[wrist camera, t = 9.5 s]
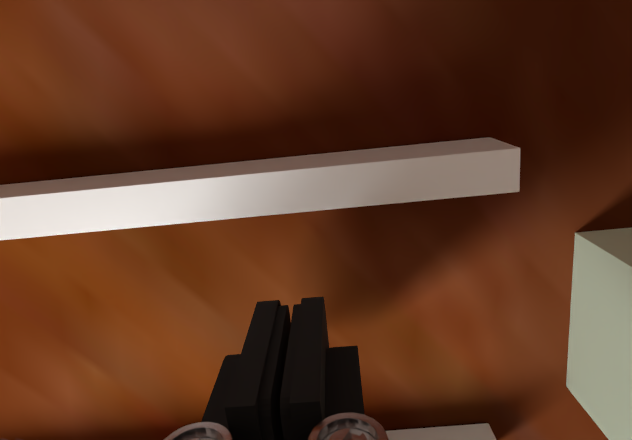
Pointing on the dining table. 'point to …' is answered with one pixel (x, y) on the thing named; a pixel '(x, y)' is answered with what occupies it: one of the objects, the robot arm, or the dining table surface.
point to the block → (602, 329)
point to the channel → (268, 199)
